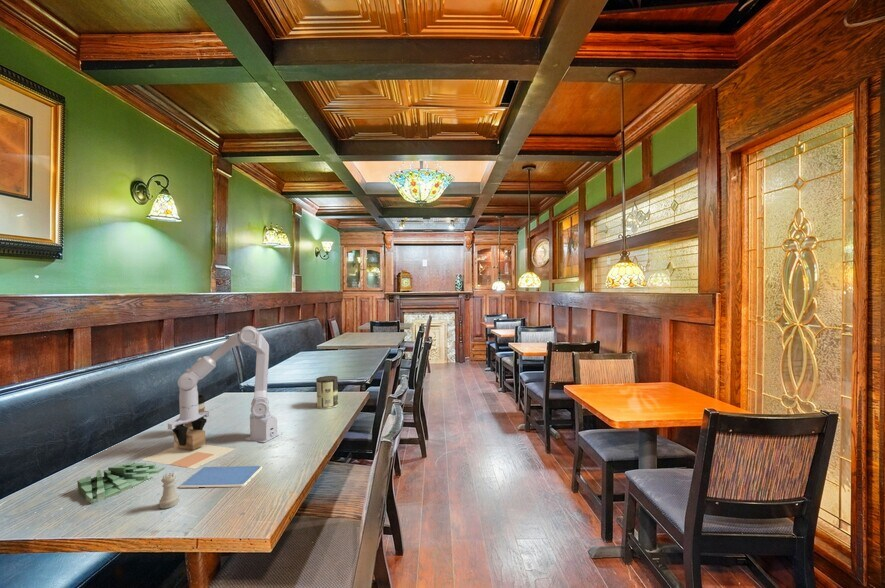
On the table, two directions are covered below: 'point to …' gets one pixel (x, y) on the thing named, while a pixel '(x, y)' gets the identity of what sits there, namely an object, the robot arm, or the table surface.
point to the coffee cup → (200, 409)
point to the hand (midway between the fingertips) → (189, 442)
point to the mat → (188, 456)
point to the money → (115, 480)
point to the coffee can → (327, 392)
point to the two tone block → (192, 439)
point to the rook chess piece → (168, 492)
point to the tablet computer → (222, 477)
